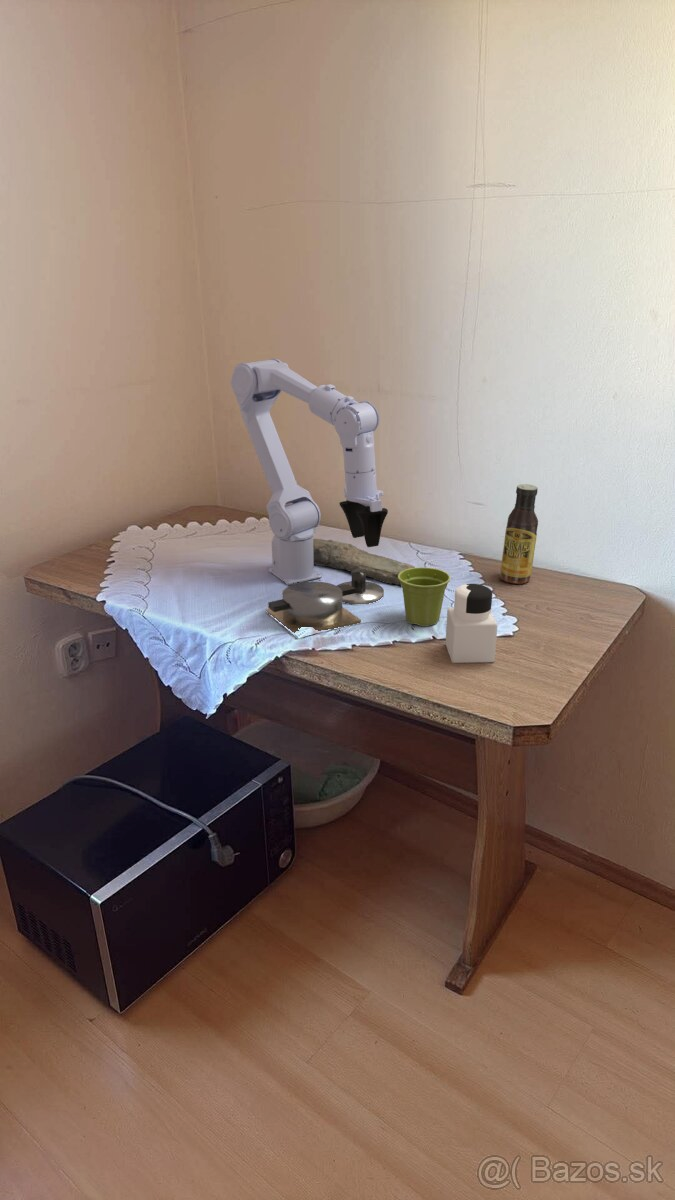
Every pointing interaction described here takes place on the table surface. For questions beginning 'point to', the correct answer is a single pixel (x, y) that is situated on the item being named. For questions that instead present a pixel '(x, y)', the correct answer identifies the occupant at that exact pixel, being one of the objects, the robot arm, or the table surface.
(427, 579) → the plant pot
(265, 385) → the robot arm
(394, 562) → the long grey stone
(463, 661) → the medicine bottle
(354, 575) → the lid
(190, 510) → the table surface
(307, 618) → the pot
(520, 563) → the sauce bottle
